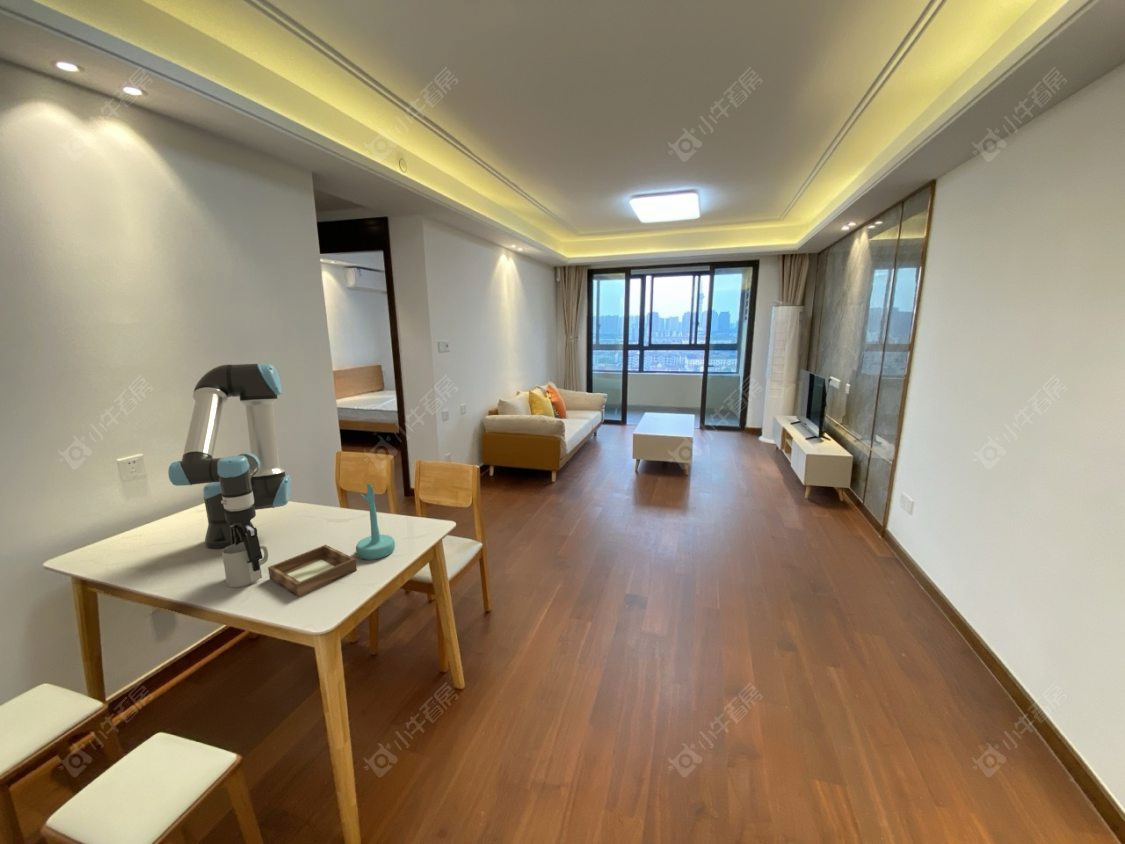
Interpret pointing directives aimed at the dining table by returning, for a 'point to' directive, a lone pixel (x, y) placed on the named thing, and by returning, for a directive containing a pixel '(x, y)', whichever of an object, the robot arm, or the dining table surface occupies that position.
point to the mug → (239, 564)
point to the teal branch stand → (374, 535)
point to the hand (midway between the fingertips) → (250, 575)
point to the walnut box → (312, 570)
